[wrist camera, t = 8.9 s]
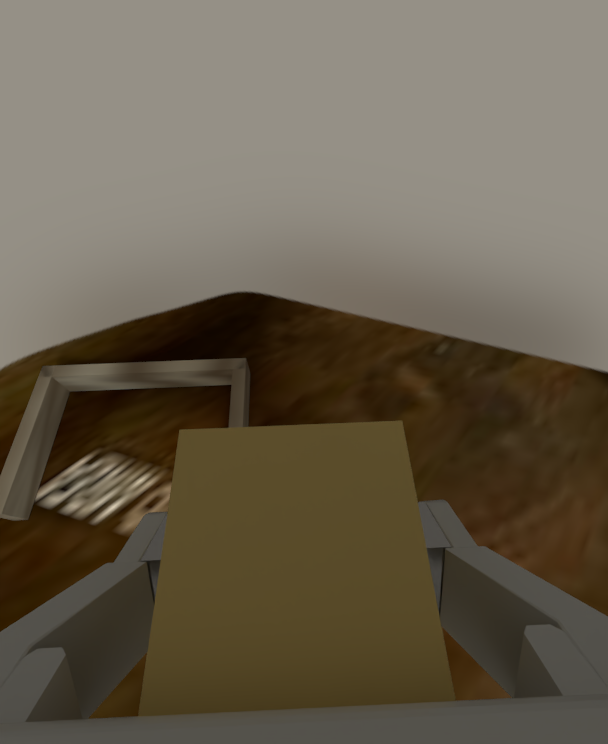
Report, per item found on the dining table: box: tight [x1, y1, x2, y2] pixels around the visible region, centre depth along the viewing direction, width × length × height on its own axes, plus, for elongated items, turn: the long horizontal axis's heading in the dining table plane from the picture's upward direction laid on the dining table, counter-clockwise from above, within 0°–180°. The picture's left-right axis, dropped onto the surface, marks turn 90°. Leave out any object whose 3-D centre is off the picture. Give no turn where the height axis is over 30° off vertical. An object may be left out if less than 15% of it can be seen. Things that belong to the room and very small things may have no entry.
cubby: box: [0, 358, 250, 520], centre depth 27 cm, size 16×11×2 cm
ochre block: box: [138, 421, 456, 716], centre depth 9 cm, size 4×4×8 cm
